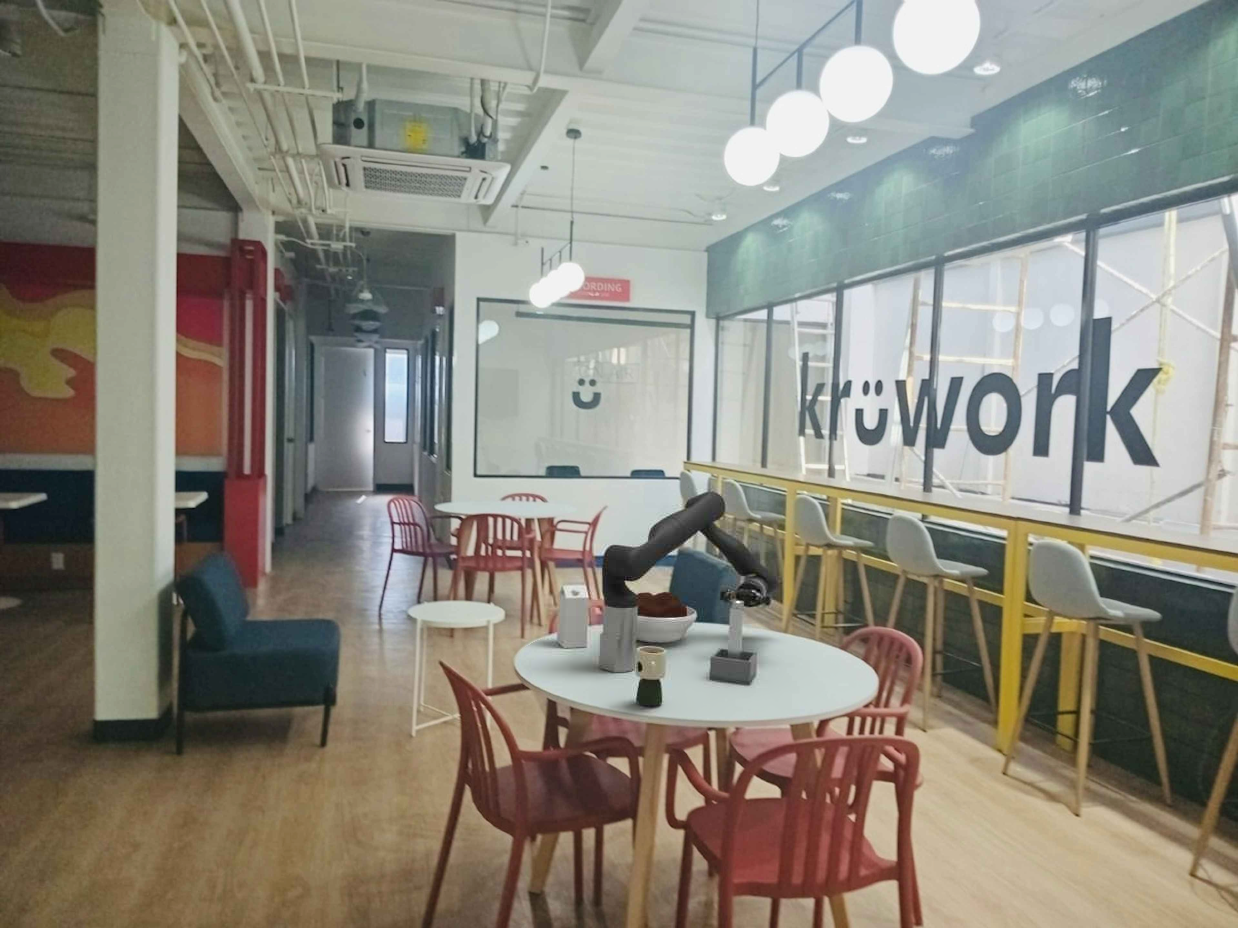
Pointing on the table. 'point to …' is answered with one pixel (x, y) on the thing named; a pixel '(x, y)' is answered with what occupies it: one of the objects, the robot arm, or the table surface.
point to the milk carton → (573, 615)
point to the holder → (733, 667)
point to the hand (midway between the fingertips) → (741, 600)
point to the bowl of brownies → (662, 618)
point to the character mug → (650, 674)
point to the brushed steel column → (735, 629)
